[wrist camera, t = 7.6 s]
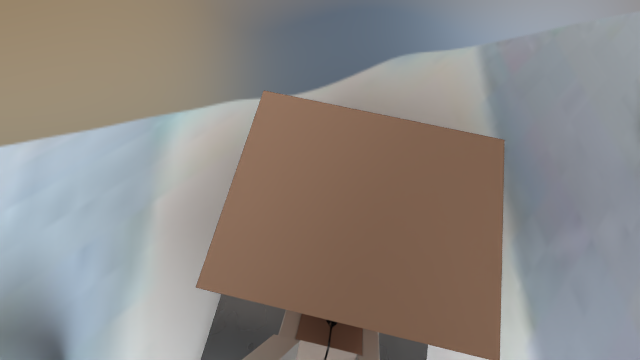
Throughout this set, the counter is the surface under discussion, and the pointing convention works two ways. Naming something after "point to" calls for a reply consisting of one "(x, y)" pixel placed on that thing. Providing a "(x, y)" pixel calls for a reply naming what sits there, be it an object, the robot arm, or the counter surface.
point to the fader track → (276, 332)
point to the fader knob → (366, 224)
